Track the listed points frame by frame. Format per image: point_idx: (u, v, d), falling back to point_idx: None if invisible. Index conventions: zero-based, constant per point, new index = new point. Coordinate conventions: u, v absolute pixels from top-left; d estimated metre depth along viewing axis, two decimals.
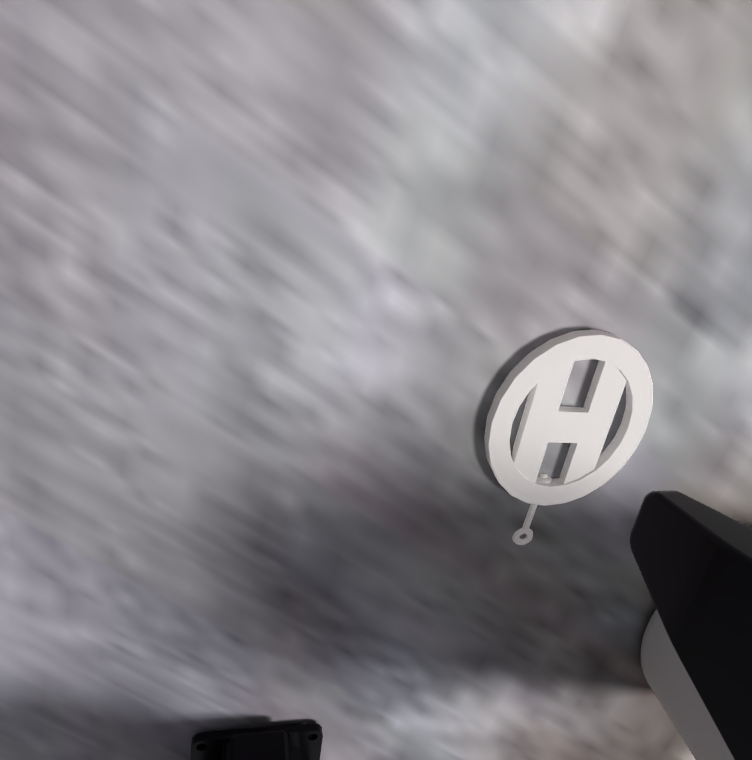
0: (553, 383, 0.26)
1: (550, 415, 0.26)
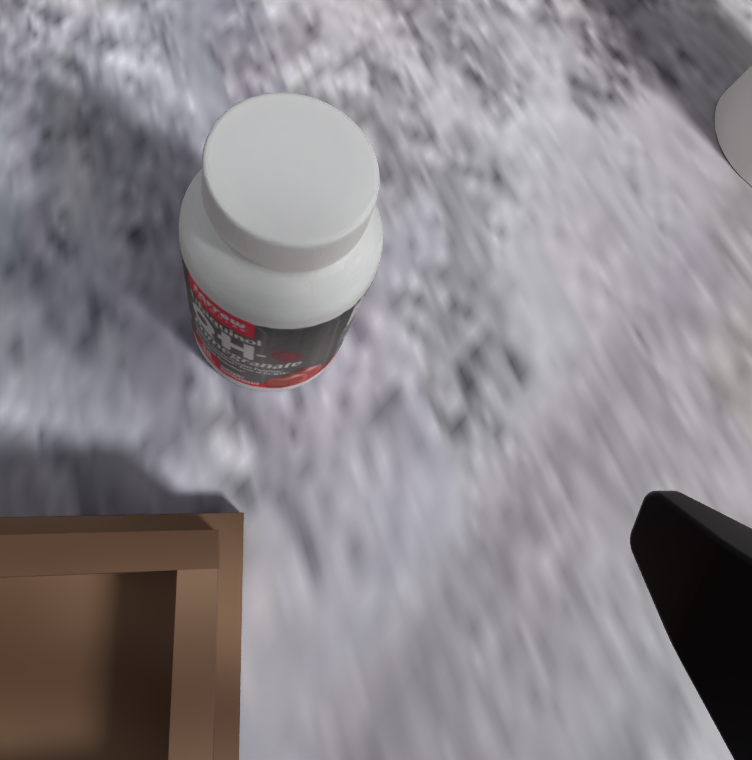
0: None
1: None
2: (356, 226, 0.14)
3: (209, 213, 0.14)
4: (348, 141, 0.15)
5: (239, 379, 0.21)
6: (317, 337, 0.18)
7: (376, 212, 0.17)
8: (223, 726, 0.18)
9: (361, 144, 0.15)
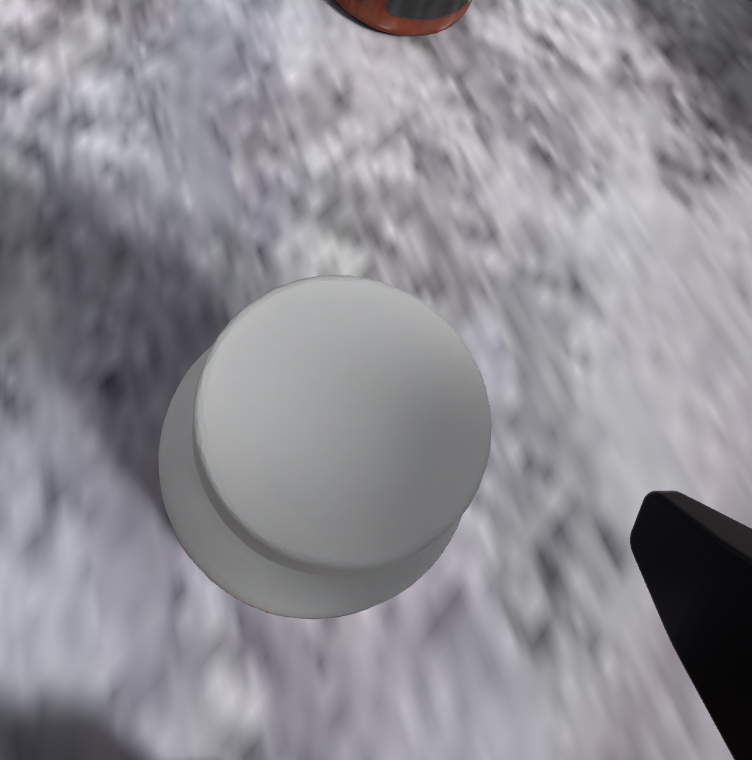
0: None
1: None
2: (459, 516, 0.08)
3: (205, 486, 0.08)
4: (439, 358, 0.09)
5: None
6: None
7: None
8: None
9: (460, 362, 0.09)
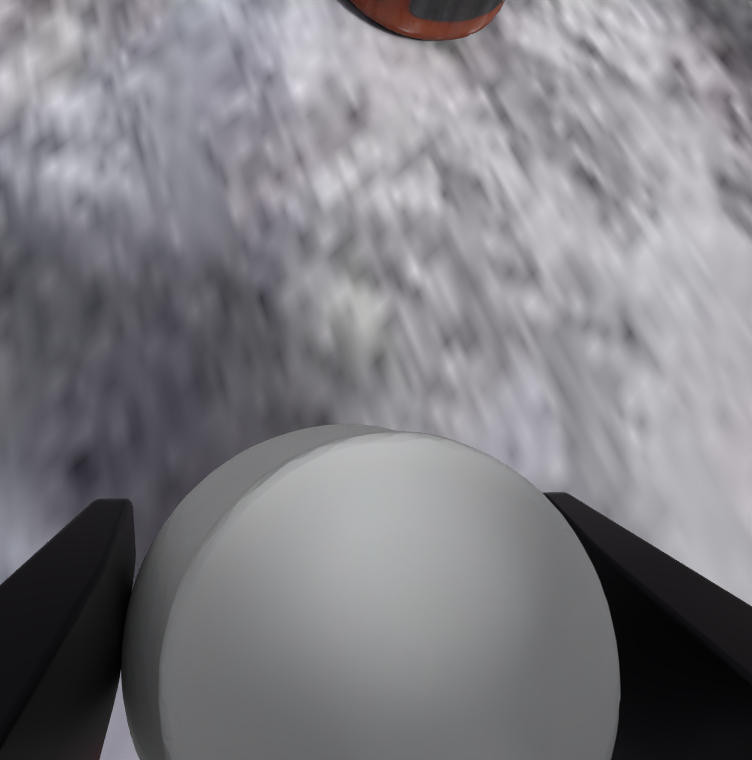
0: None
1: None
2: None
3: None
4: (539, 561, 0.06)
5: None
6: None
7: None
8: None
9: (571, 566, 0.06)
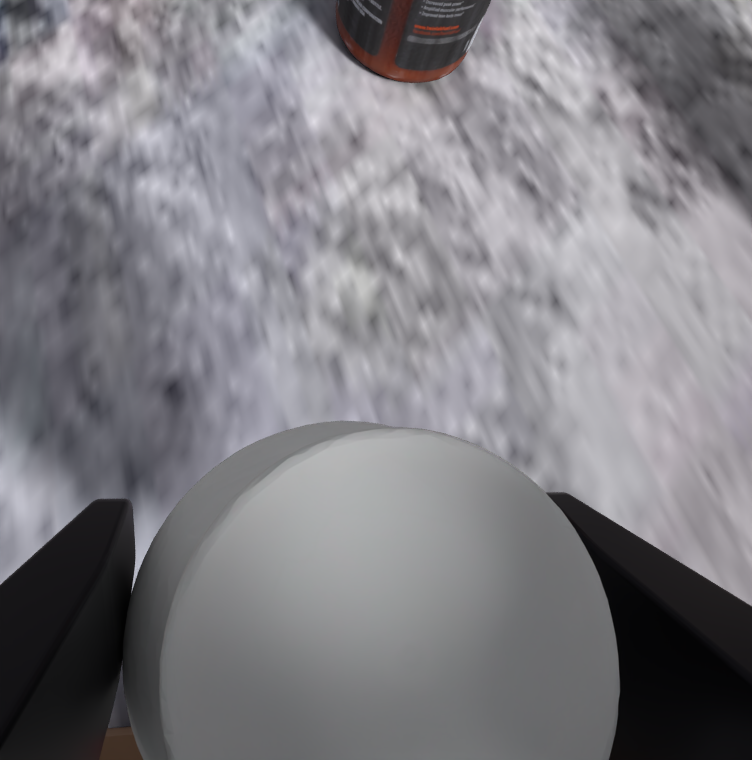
0: None
1: None
2: None
3: None
4: (538, 557, 0.06)
5: None
6: None
7: None
8: None
9: (570, 562, 0.06)
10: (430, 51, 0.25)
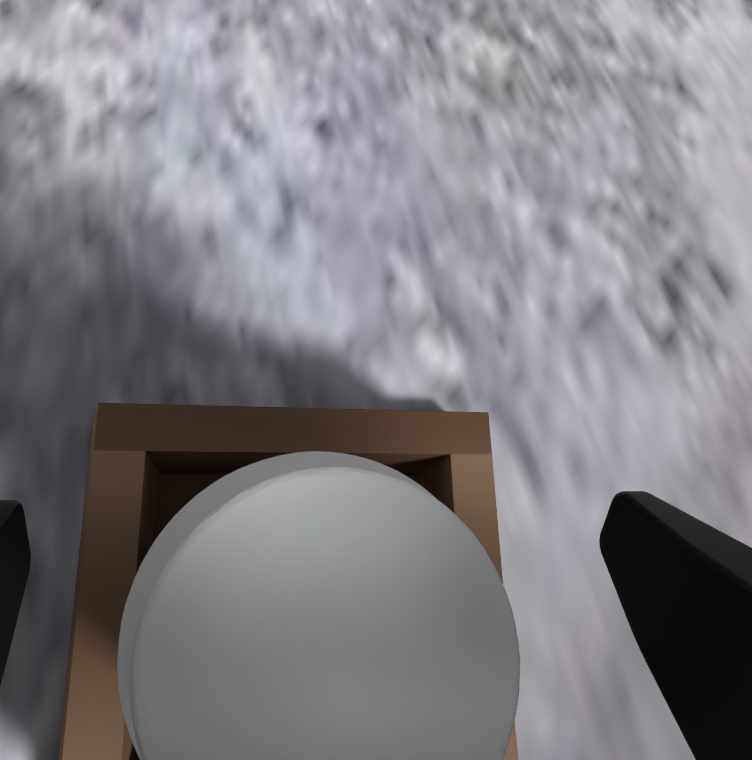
0: None
1: None
2: None
3: None
4: (451, 575, 0.07)
5: None
6: None
7: None
8: None
9: (478, 579, 0.07)
10: None
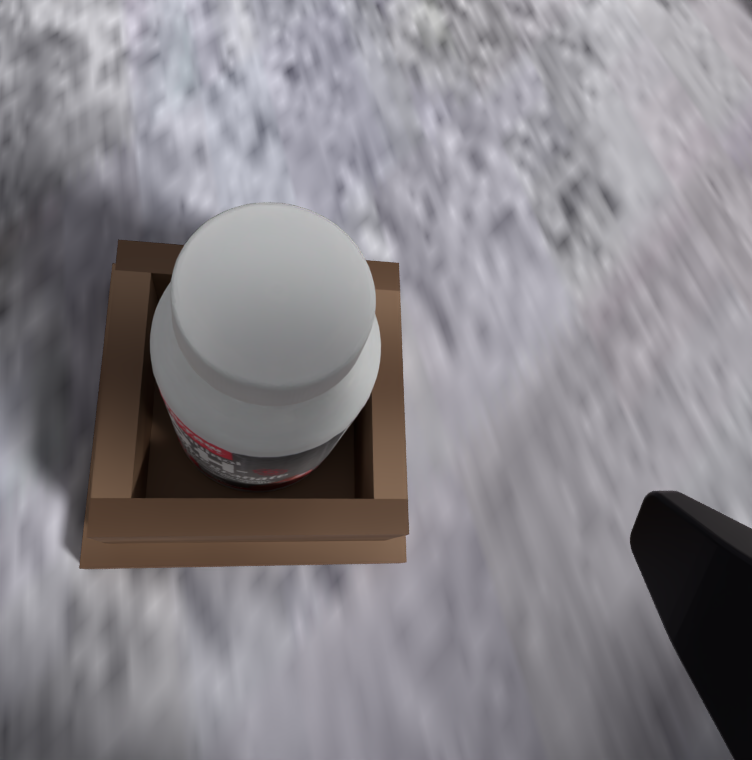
0: None
1: None
2: (347, 363, 0.12)
3: (178, 340, 0.13)
4: (341, 260, 0.13)
5: (221, 482, 0.19)
6: (304, 458, 0.16)
7: (375, 324, 0.15)
8: None
9: (356, 264, 0.13)
10: None
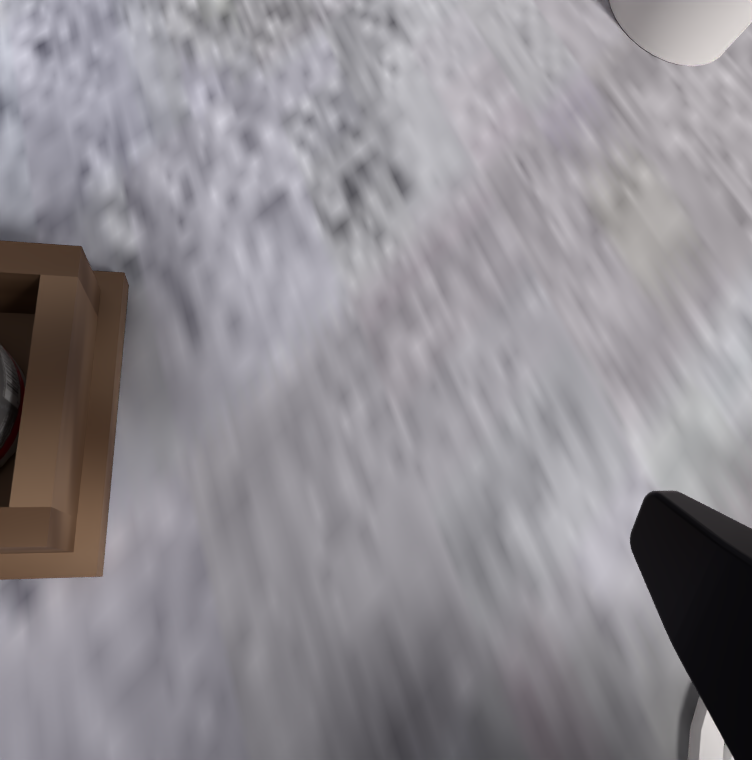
0: None
1: None
2: None
3: None
4: None
5: None
6: None
7: None
8: (93, 445, 0.20)
9: None
10: None
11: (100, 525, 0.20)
